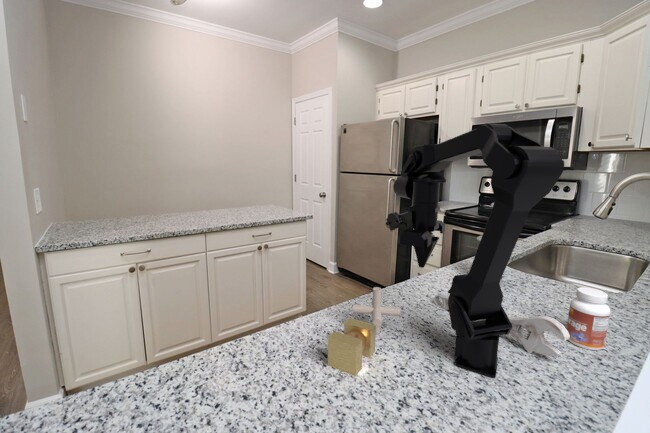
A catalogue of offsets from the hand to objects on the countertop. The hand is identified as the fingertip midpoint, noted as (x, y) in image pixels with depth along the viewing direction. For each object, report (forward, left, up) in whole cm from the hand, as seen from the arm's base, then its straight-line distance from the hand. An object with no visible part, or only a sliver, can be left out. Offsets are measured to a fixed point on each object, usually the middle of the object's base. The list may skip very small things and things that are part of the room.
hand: (421, 267), depth 72 cm
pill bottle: (-32, -6, -12) cm, 35 cm away
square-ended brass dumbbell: (+6, +24, -12) cm, 28 cm away
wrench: (-15, -1, -12) cm, 19 cm away
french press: (-13, -33, -12) cm, 38 cm away
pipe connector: (+6, +13, -12) cm, 19 cm away
